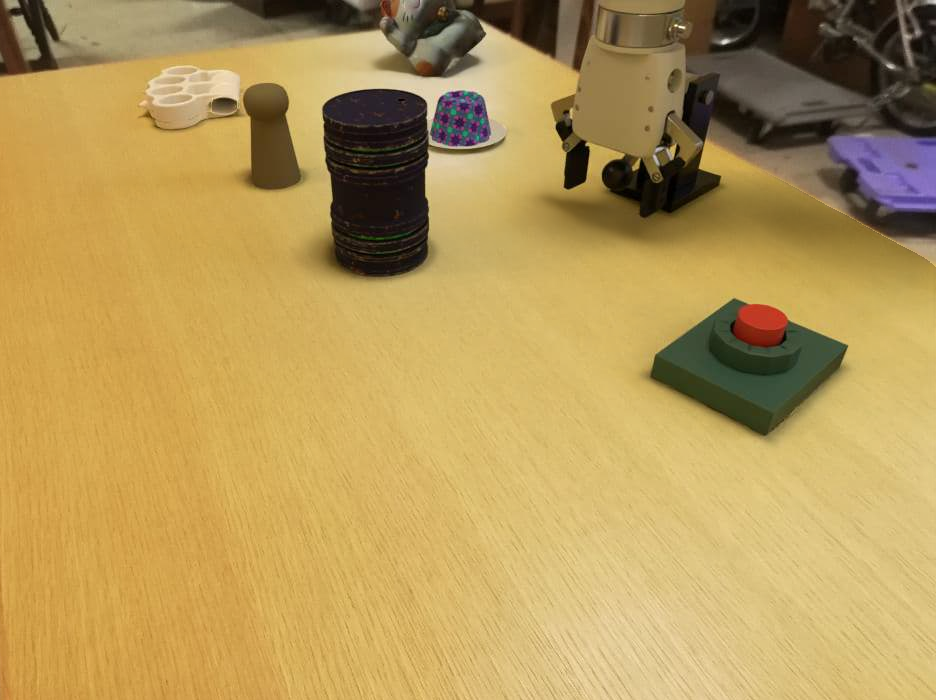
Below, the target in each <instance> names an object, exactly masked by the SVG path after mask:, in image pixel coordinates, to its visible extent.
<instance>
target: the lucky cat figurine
mask: <svg viewBox="0 0 936 700" xmlns="http://www.w3.org/2000/svg"><path fill="white" fill-rule="evenodd" d="M379 6H380V22H379V28H380V30H381V33H382V34H383V36H384V37H385V38H386V40H387V41H388V43H390V44H391V45H392V46H393V47H394V48H395V49H396V50H397V51H398V52H399V53H400V54H401V55H403V57H405V59H406V60H407V61H409V62H410V63H411V64H412V66H413V68H414V70H415V71H416V72H417V73H418V74H420V75H422V76H423V77H425V76H429V77H442V76H443V74H444V73H447V72H449V71H450V70H451V69H452V68H453V69H454V67H455V66H457V65H458V64H459V62H460V61H462V59H463V58H464V57H465V56H466V55H467V54H468V53H470V52H471V51H472V50H473V49H474V48H475V47H476V46H478V45H479V44H480V43H481V42H482V41H483V40H484V38H485V37H486V35H487V32H486V31H485V29H484V27H483V25H482V24H481V22H480V20H479V18H478V17H477V16H476V15H475V14H474V13H473V12H471V11H469V10H467V9H456V4H455V1H454V0H382V1H380V3H379Z"/></svg>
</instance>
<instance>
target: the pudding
mask: <svg viewBox="0 0 936 700" xmlns="http://www.w3.org/2000/svg"><path fill="white" fill-rule="evenodd" d="M427 130H428V132H429V146H433V147H437V148H442V149H449V150H470V149H471V150H472V149H478V148H483V147H484V148H485V147H489V146H490V145H493V144H497V143H498V142H499V141H501V140H502V139H504V138H505V136H506V135H507V129H506V127H505V126H504V125H503V124H502V123H500V122H499V121H497V120H495V119H492V118H489V115H488V109H487V105H486V100H485V98H484V96H483V95H481V94H479V93H478V92H475V91H473V90H472V91H471V90H469V91H467V90H464V89H463V90H462V89H461V90H455V91H447V92H445V93H444V94H442V95H441V96H440V97H438V100H437V102H436V108H435V111H434V115H433V118H431V119H427Z"/></svg>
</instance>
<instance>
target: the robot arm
mask: <svg viewBox="0 0 936 700" xmlns="http://www.w3.org/2000/svg"><path fill="white" fill-rule="evenodd" d="M685 3H686V0H598V5H597V7H598V8H597V16H596V23H595V31H594V34H593V35H592V36H590V37H589V40H588V43H587V45H586V48H585V52H584V55H583V58H582V62H581V66H580V69H579V73H578V79H577V84H576V89H575V93H573V94H571V95H568V96H564V97H562V98H559V99H557V100H554V101H553V102H551V104H550V109H551V113H552V117H553V120H554V122H556V124H555V126H554V129H555V131H556V133H557V135H558V137H559V139H560V140H561V142H562V143H561V149H562V151H563V152H564V153H565V163H564V171H563V176H564V180H563V189H565V190H568V191H569V190H573V189H574V188H576V187H578V186H580V185H582V184H584V183H586V181H587V178H588V170H589V162H590V155H591V149H590V146H589V145H587V143H590V144H594V145H596V146H599V147H603V148H605V149H609V150H610V151H611V150H612V151H614V152H618V153H621V154H623V155H625V154H627V155H630V156H633V157H637V158H639V159H640V158H642V159H643V162H644V164H645V166H646V168H647V170H648V173H649V175H650V177H651V178H650V179H648V180H646V181H645V183H644V188H643V193H642V199H641V203H640V204H639V210H638V216H639V217H640V218H642V219H644V220H645V219H647V218H649V217H651V216H652V215H654V214H656V213H658V212H660V211H661V210H660V209H661V208H662V207H663V206H664V204H665V201H666V196H667V191H668V186H669V181H670V177H671V176H672V175H674V174H676V173H677V172H679V171H680V170H682V169H683V168H685V167H687V166H688V165H689V164H690V163H691V161H692V160H693V159H694V157H695V156H696V155H697V154H698V153H699V151H700V150H701V149H702V148H703V141H702V140H701V139H700V138H699V137H698V136H697V135H696V134H695V133H694V132H693V131H692V130H691V129H690V128H689V127H688V126H687V125H686V124H685V123H684V122H683V121H682V115H683V110H682V109H683V101H684V91H685V77H686V72H687V67H686V66H687V61H686V45H685V44H684V43H680V42H678V41H679V40H680V39H688V38H689V37H690V36H691V35H692V31H693V22H691V21H686V19H685V18H684V15H685V12H686V9H685ZM571 109H572V118H571V113H570V112H571ZM676 144H678V145H679V146H680V151H679V153H678V155H677V156H676V157H675V159H674V156H673V154H672V152H671V151H670V150H671V149H670V150H669V147H670V148H672V147H674V146H676ZM703 149H704V148H703ZM656 155H657V156H656ZM657 158H658V159H657ZM658 160H659V161H658ZM659 162H660V163H659ZM660 164H661V165H660ZM661 166H662V167H661Z"/></svg>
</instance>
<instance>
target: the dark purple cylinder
mask: <svg viewBox="0 0 936 700" xmlns="http://www.w3.org/2000/svg"><path fill="white" fill-rule="evenodd" d="M321 116H322V120H323V125H322V126H323V137H322V139H323V148H324V152H325V159H324V162H325V164H326V170H327V171H328V173H329V175H330V187H331V198H332V201H331V203H330V206H329V207H330V212H329V216H330V217H329V218H330V219H331V220H330V225H331V226H330V227H331V235H332V238H333V243H334V246H335V247H334V256H335V260H336V262H337V264H338V265H339V266H341V267H342V268H343V269H345V270H347V271H349V272H351V273H353V274H357V275H361V276H367V277H391V276H397V275H401V274H404V273H405V274H406V273H408V272H409V271H410V272H411V271H412V270H414V269H416V268H418V267H419V266H421V265H422V264H423V263H424V262H425V261H426V259H427V258H428V255H429V244H428V240H429V232H430V216H429V212H430V207H429V200H428V198H427V196H426V169H427V167H428V164H429V159H430V153H429V146H430V144H429V132H428V130H427V121H428V118H427V117H428V102H427V100H426V99H425V98H424V97H423V96H421V95H419V94H417V93H415V92H410V91H407V90H403V89H402V90H401V89H395V88H366V89H365V88H363V89H357V90H351V91H348V92H343V93H341V94H338V95H335V96H333V97H331V98H329V99H328V100H326V101H325V102H324V103H323V104H322V108H321Z"/></svg>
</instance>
